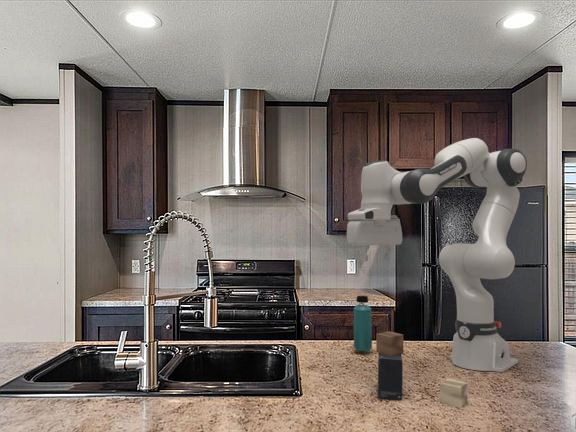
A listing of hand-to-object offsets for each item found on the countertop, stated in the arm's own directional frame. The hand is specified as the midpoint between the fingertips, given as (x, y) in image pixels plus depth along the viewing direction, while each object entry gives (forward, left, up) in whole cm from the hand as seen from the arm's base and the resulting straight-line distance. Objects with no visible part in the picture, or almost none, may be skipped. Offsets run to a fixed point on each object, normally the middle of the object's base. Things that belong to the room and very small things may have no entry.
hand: (375, 260), depth 137 cm
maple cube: (-1, +26, -34) cm, 43 cm away
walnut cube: (+7, +12, -24) cm, 27 cm away
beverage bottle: (-15, -21, -34) cm, 43 cm away
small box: (+7, +12, -34) cm, 37 cm away
